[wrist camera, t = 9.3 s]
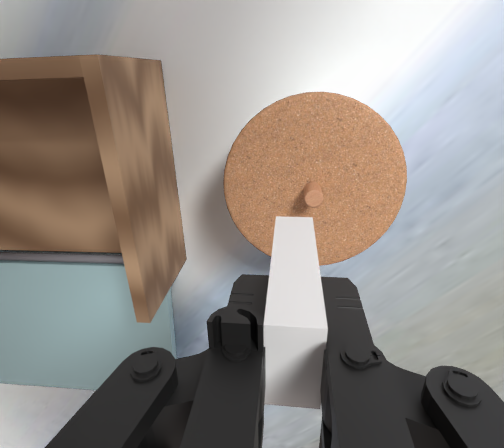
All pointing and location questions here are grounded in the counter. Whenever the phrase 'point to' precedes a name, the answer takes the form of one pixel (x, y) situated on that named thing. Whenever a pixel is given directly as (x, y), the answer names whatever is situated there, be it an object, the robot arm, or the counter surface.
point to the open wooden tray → (91, 166)
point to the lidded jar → (316, 173)
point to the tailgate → (71, 319)
